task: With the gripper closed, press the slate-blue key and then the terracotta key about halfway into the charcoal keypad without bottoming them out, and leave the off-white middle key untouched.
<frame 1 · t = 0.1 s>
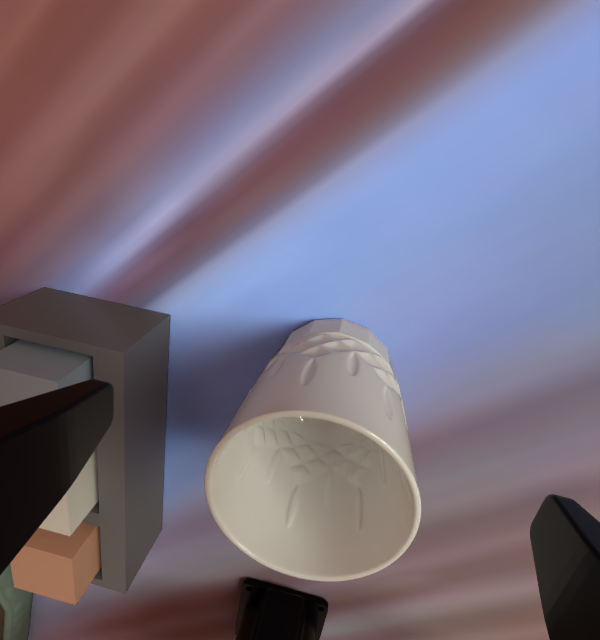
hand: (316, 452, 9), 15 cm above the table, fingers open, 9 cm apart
slate blue key: (44, 391, 21), point 5 cm above the table, slide at 0.0 cm
keypad: (109, 421, 29), on the table
terracotta key: (59, 551, 26), point 5 cm above the table, slide at 0.0 cm
white cup: (334, 369, 25), on the table
white key: (52, 479, 24), point 5 cm above the table, slide at 0.0 cm
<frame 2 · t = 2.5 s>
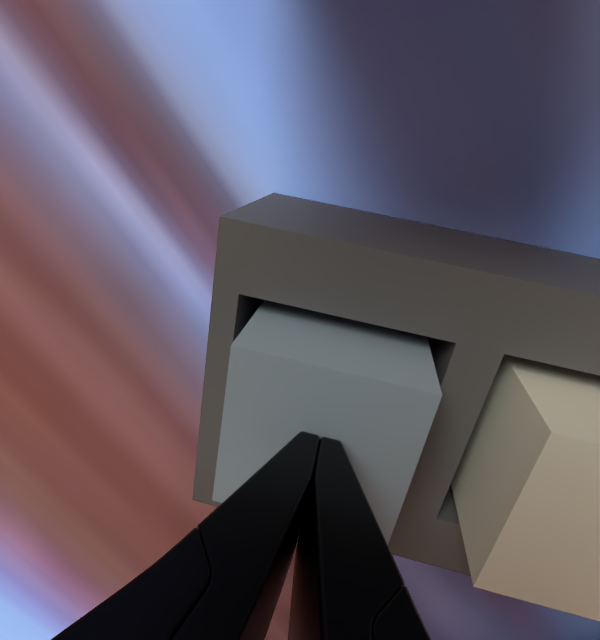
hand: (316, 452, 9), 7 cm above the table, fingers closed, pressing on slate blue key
slate blue key: (323, 411, 10), point 5 cm above the table, slide at 0.4 cm, touching gripper
keypad: (510, 366, 14), on the table
white key: (583, 486, 9), point 5 cm above the table, slide at 0.0 cm
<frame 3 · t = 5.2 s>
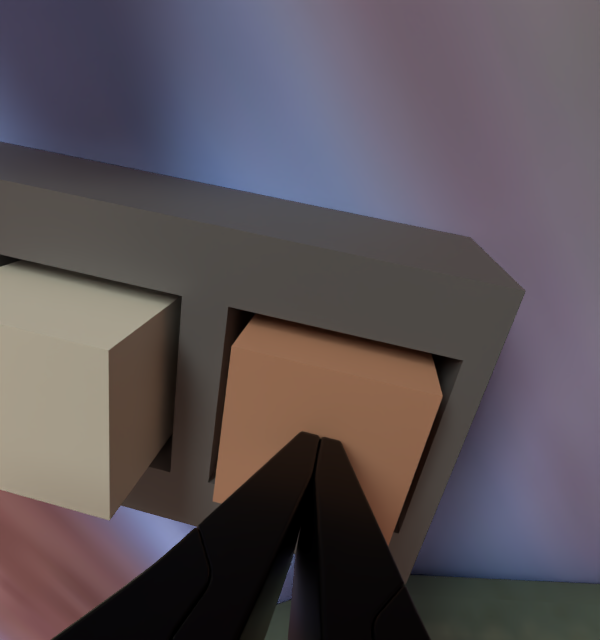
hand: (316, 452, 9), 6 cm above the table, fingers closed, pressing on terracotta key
keypad: (172, 299, 15), on the table
terracotta key: (323, 412, 10), point 4 cm above the table, slide at 1.1 cm, touching gripper
white key: (64, 379, 10), point 5 cm above the table, slide at 0.0 cm
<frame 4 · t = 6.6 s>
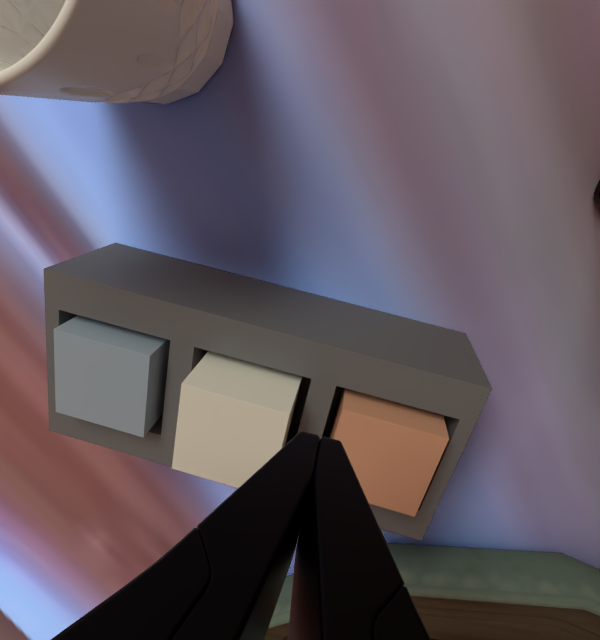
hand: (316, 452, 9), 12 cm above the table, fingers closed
slate blue key: (120, 367, 19), point 4 cm above the table, slide at 1.2 cm
keypad: (270, 357, 22), on the table
terracotta key: (379, 440, 18), point 4 cm above the table, slide at 1.2 cm
white cup: (156, 12, 17), on the table
white key: (239, 419, 17), point 5 cm above the table, slide at 0.0 cm
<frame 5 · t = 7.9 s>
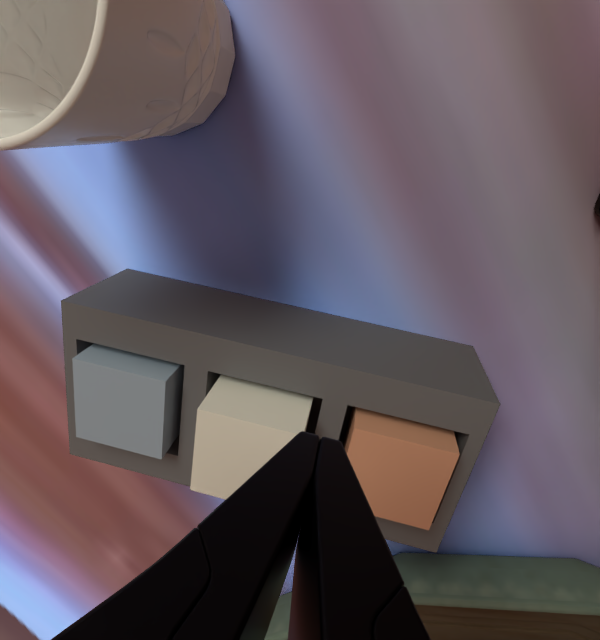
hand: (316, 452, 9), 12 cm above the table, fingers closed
slate blue key: (136, 391, 19), point 4 cm above the table, slide at 1.2 cm
keypad: (281, 374, 23), on the table
terracotta key: (391, 456, 18), point 4 cm above the table, slide at 1.2 cm
white cup: (161, 48, 18), on the table
white key: (253, 439, 18), point 5 cm above the table, slide at 0.0 cm
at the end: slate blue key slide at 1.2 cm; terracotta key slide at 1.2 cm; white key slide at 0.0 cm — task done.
